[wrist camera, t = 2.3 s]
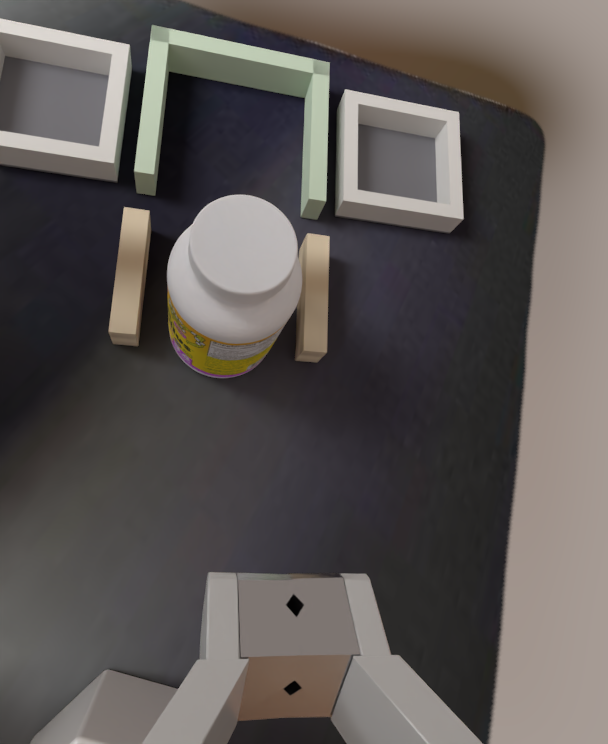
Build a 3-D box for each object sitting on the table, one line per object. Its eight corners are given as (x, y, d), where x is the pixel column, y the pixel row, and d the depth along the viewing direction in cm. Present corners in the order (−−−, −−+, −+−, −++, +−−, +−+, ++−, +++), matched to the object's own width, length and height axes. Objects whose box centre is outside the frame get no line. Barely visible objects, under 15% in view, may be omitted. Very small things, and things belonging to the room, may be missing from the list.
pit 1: (117, 182, 36) (113, 163, 34) (-33, 160, 34) (-46, 138, 32) (132, 69, 38) (129, 44, 36) (-8, 42, 36) (-19, 14, 34)
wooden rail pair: (317, 362, 36) (326, 352, 34) (113, 343, 34) (108, 331, 31) (319, 252, 38) (329, 236, 36) (127, 226, 36) (123, 207, 33)
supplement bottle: (166, 283, 35) (162, 167, 23) (267, 283, 37) (313, 174, 25) (170, 384, 34) (168, 316, 22) (275, 379, 35) (327, 314, 23)
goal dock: (317, 219, 39) (326, 201, 36) (136, 193, 36) (134, 171, 34) (320, 87, 42) (329, 62, 39) (153, 54, 39) (152, 25, 37)
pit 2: (449, 233, 41) (463, 219, 39) (334, 216, 39) (343, 200, 37) (445, 131, 43) (458, 112, 41) (336, 110, 41) (345, 89, 39)
